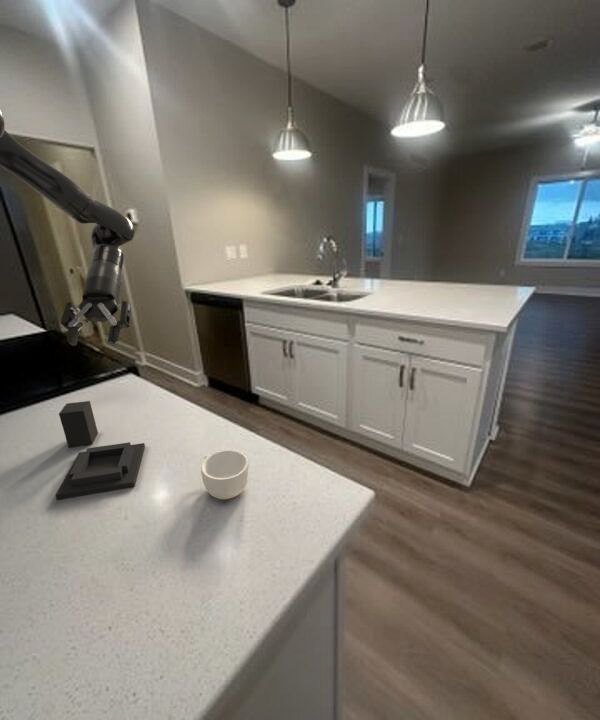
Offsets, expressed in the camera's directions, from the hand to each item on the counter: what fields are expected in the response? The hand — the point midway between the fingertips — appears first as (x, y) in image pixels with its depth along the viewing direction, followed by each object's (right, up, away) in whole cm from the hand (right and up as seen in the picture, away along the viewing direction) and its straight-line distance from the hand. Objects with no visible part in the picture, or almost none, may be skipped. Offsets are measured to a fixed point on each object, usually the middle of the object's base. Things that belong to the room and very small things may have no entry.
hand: (91, 343), depth 77 cm
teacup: (+34, -26, -18) cm, 46 cm away
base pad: (+11, -24, -14) cm, 30 cm away
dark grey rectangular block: (+1, -21, -4) cm, 21 cm away
